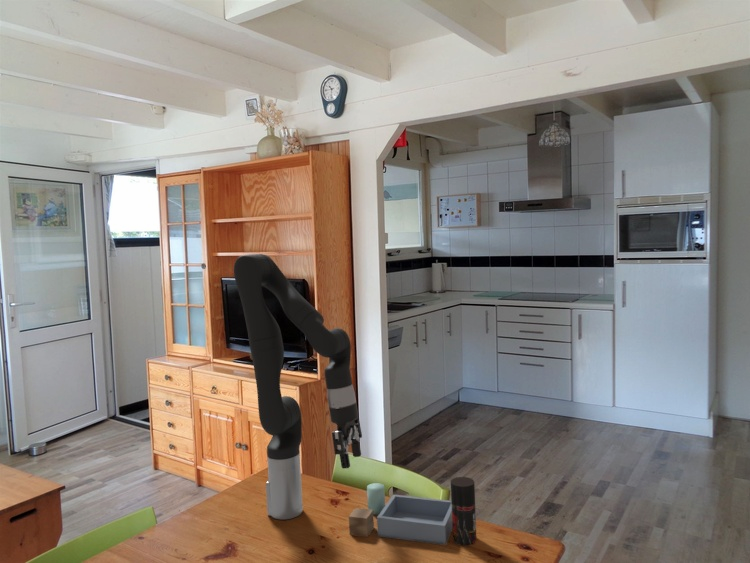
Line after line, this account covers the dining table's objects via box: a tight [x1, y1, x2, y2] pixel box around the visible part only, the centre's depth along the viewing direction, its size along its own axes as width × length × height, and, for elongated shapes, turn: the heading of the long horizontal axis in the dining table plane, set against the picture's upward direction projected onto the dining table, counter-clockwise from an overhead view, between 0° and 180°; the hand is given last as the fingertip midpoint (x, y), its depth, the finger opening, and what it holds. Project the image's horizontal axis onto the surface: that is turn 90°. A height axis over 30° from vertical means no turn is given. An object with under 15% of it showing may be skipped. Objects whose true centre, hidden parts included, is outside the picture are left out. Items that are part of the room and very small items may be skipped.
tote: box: [376, 494, 453, 546], centre depth 147 cm, size 18×14×5 cm
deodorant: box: [450, 476, 477, 547], centre depth 140 cm, size 6×6×15 cm
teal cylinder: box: [366, 482, 386, 516], centre depth 158 cm, size 5×5×7 cm
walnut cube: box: [348, 507, 375, 538], centre depth 147 cm, size 5×5×5 cm
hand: (351, 462), depth 149 cm, fingers open, 8 cm apart
